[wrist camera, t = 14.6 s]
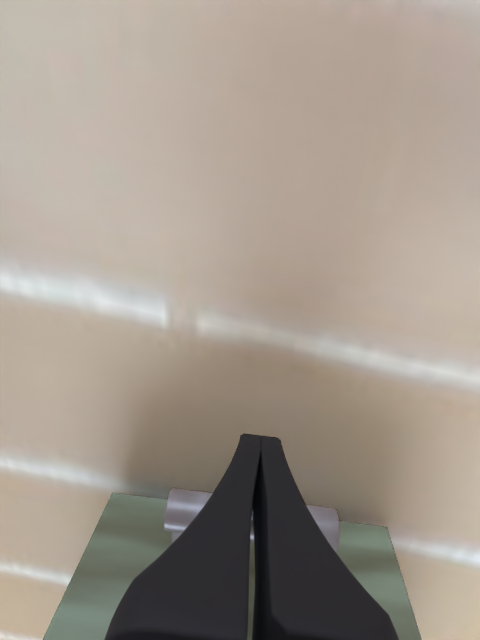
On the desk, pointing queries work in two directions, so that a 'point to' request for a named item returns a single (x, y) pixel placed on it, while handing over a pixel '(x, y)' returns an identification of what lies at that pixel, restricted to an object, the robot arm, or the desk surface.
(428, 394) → the desk surface
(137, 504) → the drawer
